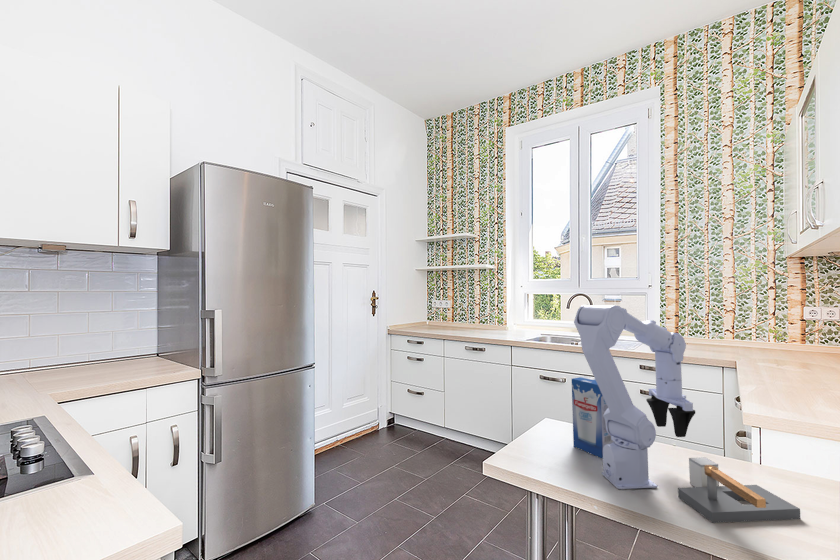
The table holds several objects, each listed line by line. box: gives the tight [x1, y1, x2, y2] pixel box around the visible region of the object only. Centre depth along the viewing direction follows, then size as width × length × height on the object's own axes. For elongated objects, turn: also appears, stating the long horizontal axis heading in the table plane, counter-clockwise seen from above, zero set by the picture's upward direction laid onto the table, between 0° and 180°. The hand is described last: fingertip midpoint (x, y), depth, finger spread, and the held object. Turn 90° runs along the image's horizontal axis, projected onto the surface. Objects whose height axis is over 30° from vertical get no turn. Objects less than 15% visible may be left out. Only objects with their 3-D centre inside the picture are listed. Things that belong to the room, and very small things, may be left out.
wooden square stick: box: [704, 465, 766, 508], centre depth 79 cm, size 14×2×2 cm, turn 178°
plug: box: [688, 456, 720, 487], centre depth 94 cm, size 4×4×6 cm
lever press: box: [677, 476, 801, 524], centre depth 85 cm, size 18×10×7 cm, turn 92°
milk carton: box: [571, 375, 614, 459], centre depth 117 cm, size 10×6×20 cm, turn 27°
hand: (670, 431), depth 104 cm, fingers open, 7 cm apart
